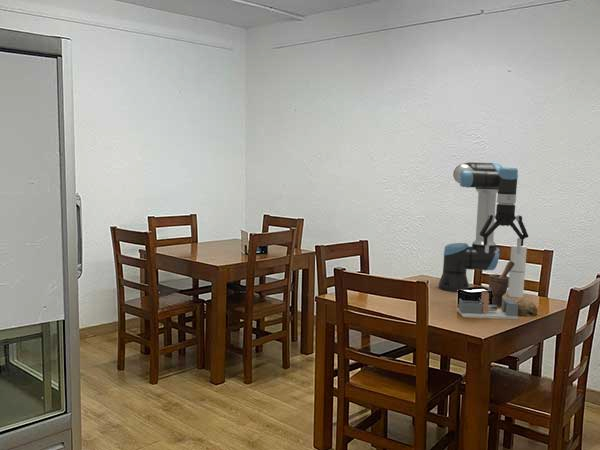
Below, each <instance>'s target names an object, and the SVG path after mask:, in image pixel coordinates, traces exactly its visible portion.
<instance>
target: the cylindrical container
mask: <svg viewBox="0 0 600 450" xmlns="http://www.w3.org/2000/svg"><path fill="white" fill-rule="evenodd" d="M516 250H517V244H511V246H510V260H509V261H512V262H514V266H513V268H512V269H511V270H510V271H509V273H508V274H509V276H508V277H509V279H508V288H507V296H508V297H511V298H516V299H517V298H523V297H524V289H525V288H524V287H525V275H526V265H527V263H526V262H527V250H528V246H527V245H524V244H523V246H521V251H520V254H517V253H516Z"/></svg>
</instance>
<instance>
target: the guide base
mask: <svg viewBox="0 0 600 450" xmlns="http://www.w3.org/2000/svg"><path fill="white" fill-rule="evenodd" d="M517 302H518V301H517ZM517 302H516V301H515V300H514V299H513V298H512V297H511V298H508V297H507V298H506V297H504V298H503V297H502V305H501V309H499V308H497V311H488V313H482V304H481V301H477V300H463V299H462V298H461V297H460V298H459V299H458V307H457V308H456V310H457V312H458V313H459V314H460V315H461V316H462V317H463V318H471V319H473V318H474V319H495V320H496V319H500V320H501V319H502V320H519V315H518V303H517Z"/></svg>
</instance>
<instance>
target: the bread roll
mask: <svg viewBox="0 0 600 450" xmlns="http://www.w3.org/2000/svg"><path fill="white" fill-rule="evenodd" d="M517 303H518V316H522V317H523V316H524V317H534V316H537V314H538V308H537V305H535V303H534V302H533V301H530V300H528V299H521V300H518V301H517Z"/></svg>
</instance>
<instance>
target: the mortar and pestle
mask: <svg viewBox="0 0 600 450" xmlns="http://www.w3.org/2000/svg"><path fill="white" fill-rule="evenodd" d="M513 266H514V262H512V261H510V260H509V261H508V262H507V264H506V265H505V267H504V270H503V272H502V273H501V274H495V273H494V274H493V273H492V274H489V275H488V276H489V277H488V289H489V292H490V291H492V294H491V296H492V295H493V298H492V304H491V305H497V306H502V298H503V296H504V295H505V294H506V293H507V292H508V285H509V276H508V274H509V272H510V270H511V269H512V268H513Z"/></svg>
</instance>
